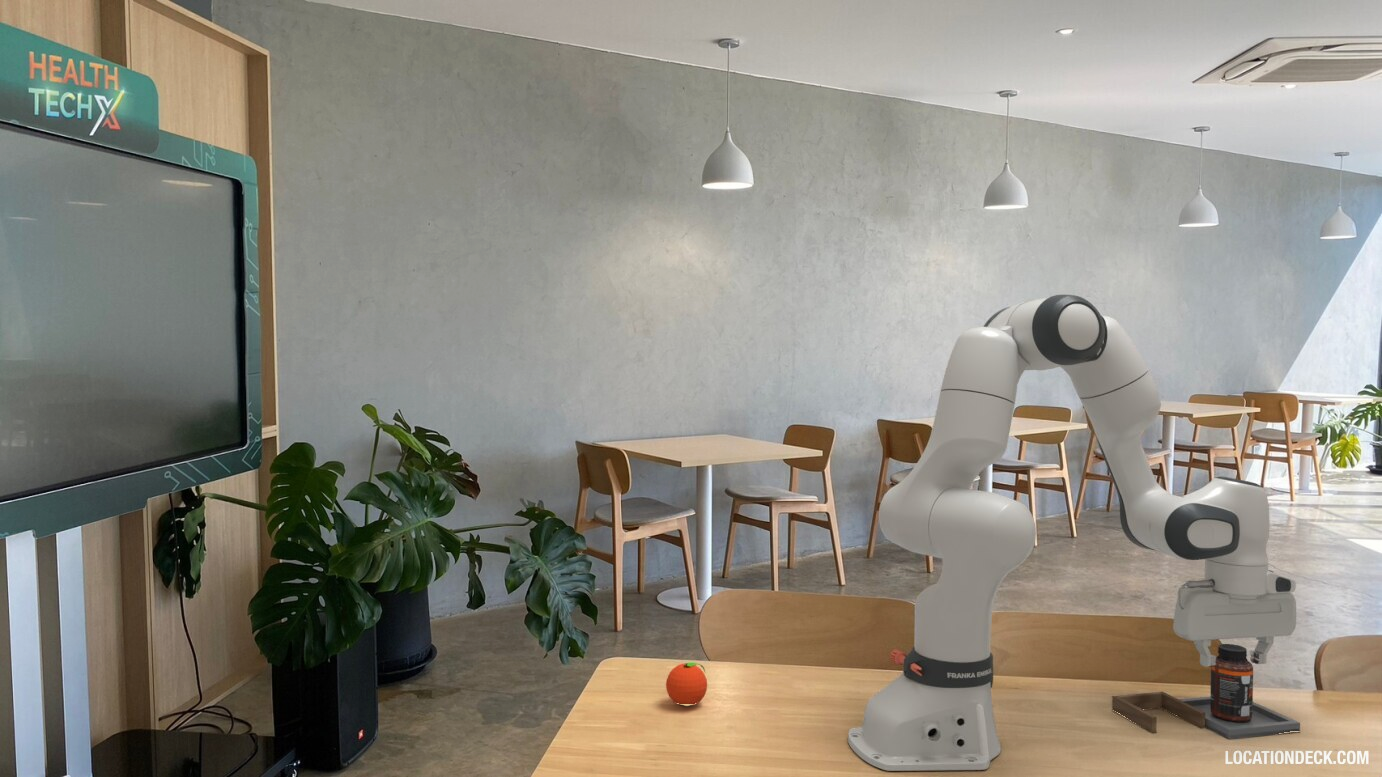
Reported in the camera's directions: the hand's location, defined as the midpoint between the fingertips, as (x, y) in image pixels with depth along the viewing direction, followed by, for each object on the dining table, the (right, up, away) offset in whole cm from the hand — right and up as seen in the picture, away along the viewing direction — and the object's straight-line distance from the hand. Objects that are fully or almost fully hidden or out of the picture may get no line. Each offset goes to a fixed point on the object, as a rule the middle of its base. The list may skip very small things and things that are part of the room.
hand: (1233, 664), depth 153 cm
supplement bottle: (0, -9, +1) cm, 9 cm away
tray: (0, -9, +1) cm, 9 cm away
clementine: (-87, -9, +8) cm, 88 cm away
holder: (-12, -9, +1) cm, 15 cm away
